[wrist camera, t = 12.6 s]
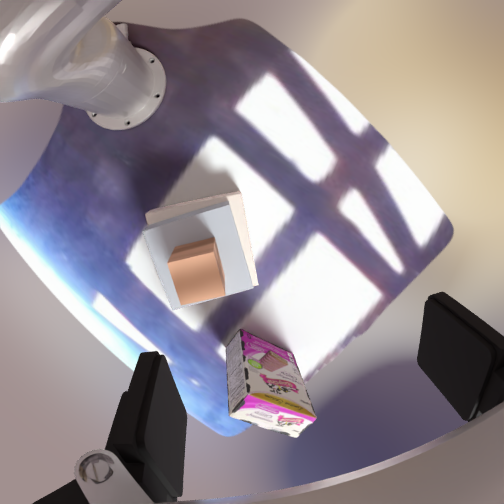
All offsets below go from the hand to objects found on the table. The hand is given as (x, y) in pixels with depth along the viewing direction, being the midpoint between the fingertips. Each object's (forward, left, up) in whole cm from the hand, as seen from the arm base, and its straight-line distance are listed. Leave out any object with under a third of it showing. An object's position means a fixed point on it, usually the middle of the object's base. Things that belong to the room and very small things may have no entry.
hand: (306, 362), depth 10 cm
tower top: (+5, -7, -32) cm, 33 cm away
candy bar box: (+25, -1, -36) cm, 44 cm away
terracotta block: (+5, -6, -28) cm, 30 cm away
